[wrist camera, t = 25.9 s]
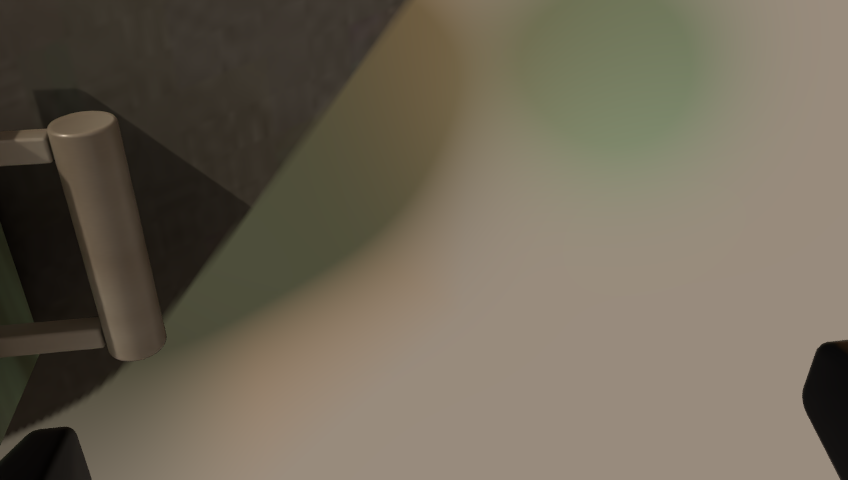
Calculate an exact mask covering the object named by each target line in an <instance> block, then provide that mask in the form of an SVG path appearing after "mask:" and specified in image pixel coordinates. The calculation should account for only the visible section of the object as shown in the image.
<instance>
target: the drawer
mask: <svg viewBox="0 0 848 480" xmlns="http://www.w3.org/2000/svg"><path fill="white" fill-rule="evenodd" d="M54 159H55V162H56V166H57V169H58V173H59V176H60V180H61V183H62V187H63V191H64V194H65V198H66V201H67V205H68V208H69V212H70V215H71V219H72V223H73V226H74V230H75V233H76V237H77V240H78V244H79V248H80V251H81V255H82V258H83V262H84V265H85V269H86V273H87V276H88V280H89V283H90V287H91V290H92V294H93V298H94V301H95V305H96V308H97V312H98V315H99V317H88V318H77V319H66V320H55V321H44V322H34V321H33V318H32V315H31V312H30V309H29V306H28V303H27V300H26V297H25V294H24V291H23V288H22V285H21V282H20V279H19V276H18V273H17V270H16V267H15V264H14V261H13V258H12V256H11V253H10V250H9V247H8V244H7V241H6V238H5V235H4V232H3V229H2V226H1V223H0V445H1V442H2V440H3V438H4V436H5V433H6V431H7V429H8V426H9V424H10V422H11V419H12V417H13V415H14V412H15V410H16V408H17V405H18V403H19V401H20V398H21V396H22V394H23V392H24V389H25V387H26V385H27V382H28V380H29V378H30V375H31V373H32V371H33V368H34V366H35V364H36V361H37V359H38V357H39V355H40V354H44V353H55V352H65V351H75V350H86V349H96V348H103V347H104V346H105V343H106V344H107V348H108V351H109V353H110V354H111V355H112V356H113V357H114V358H116V359H118V360H121V361H138V360H142V359H145V358H148V357H150V356H152V355H154V354H156V353H157V352H158V351H159V350H161V348H162V347H163V346H164V344H165V342H166V332H165V327H164V323H163V318H162V314H161V309H160V305H159V300H158V296H157V292H156V287H155V283H154V278H153V274H152V269H151V265H150V260H149V256H148V252H147V247H146V243H145V238H144V234H143V229H142V225H141V221H140V216H139V212H138V207H137V203H136V198H135V194H134V190H133V185H132V181H131V176H130V172H129V167H128V163H127V159H126V154H125V150H124V145H123V141H122V136H121V132H120V128H119V123H118V120H117V118H116V117H115V116H114V115H113V114H111V113H108V112H103V111H83V112H76V113H71V114H68V115H65V116H62V117H59V118H57V119H55V120H53V121H52V122H51V123H50V124H49V125H48V127H47V129H32V130H15V131H0V166H13V165H29V164H44V163H51V162H53V160H54Z"/></svg>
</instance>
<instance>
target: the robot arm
mask: <svg viewBox="0 0 848 480" xmlns="http://www.w3.org/2000/svg"><path fill="white" fill-rule="evenodd" d="M802 394H803V395H802V398H803V404H804V408H805V411H806V413H807V415H808V417H809V419H810V421H811V423H812V425H813V427H814V429H815V431H816V433H817V434H818V436H819V438H820V440H821V442H822V444H823V446H824V448H825V450H826V452H827V454H828V456H829V458H830V460H831V462H832V464H833V466H834V468H835V470H836V472H837V474H838V476H839V478H840V480H848V340H842V341H833V342H826V343H823V344H822V345H821V346H820V347H819V348H818V349H817V351H816V353H815V356H814V359H813V362H812V365H811V367H810V371H809V373H808V376H807V379H806V382H805V385H804V388H803V393H802ZM0 480H91V476H90V473H89V470H88V467H87V464H86V461H85V458H84V455H83V452H82V449H81V446H80V443H79V440H78V437H77V434H76V433H75V431H74V430H73V429H71V428H69V427H58V428H48V429H39V430H35V431H32V432H31V433H29V434H28V435H27V436H25V437H24V438H23V439H22V441H20V442H19V443H18V444H17V445H16V446H15V447H14V448H13V449H12V450H11V451H10V452H9V453H8V454H7V455H6V456H5V457H4V458H3V459H2V460H1V461H0Z"/></svg>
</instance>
